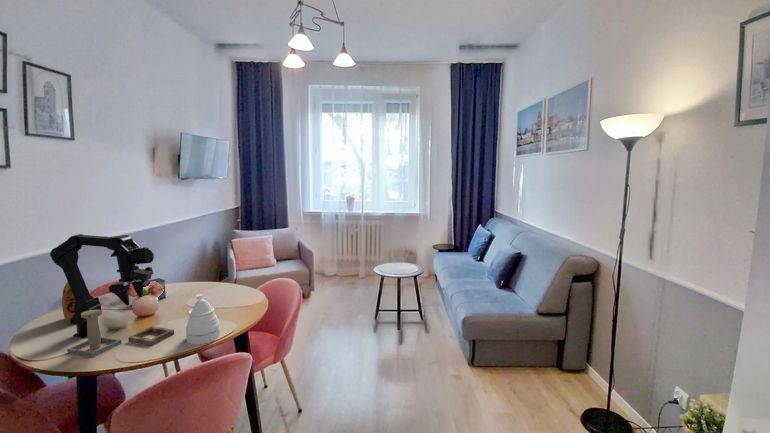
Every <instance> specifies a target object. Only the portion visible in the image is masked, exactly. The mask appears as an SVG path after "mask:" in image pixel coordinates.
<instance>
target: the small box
mask: <svg viewBox="0 0 770 433" xmlns="http://www.w3.org/2000/svg"><path fill="white" fill-rule="evenodd" d="M151 281H156V282H158V283H159V284H160V285H162V287H163V289H164V291H163V293H162V294H161V295H160V296H159V297H158V299H159V300H163V299H166V298H167V297H166V296H167V295H166V280H165V279H162V278H154V279H149V280H148V281H146V282H145V284H144V287H146V286H148V285H149V284H150V282H151ZM159 300H158V301H159Z"/></svg>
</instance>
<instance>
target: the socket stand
mask: <svg viewBox="0 0 770 433" xmlns="http://www.w3.org/2000/svg"><path fill="white" fill-rule="evenodd" d="M153 333H154V334H159V335H157V336H155V337H153V338H146V336H147V335H150V334H153ZM173 335H175V329H172V328H164V327H159V326H153V325H152V326H150V327H147V328H144V329H143V330H141V331H139V332H136V333H135V334H133V335H130V336H128V343H133V344H138V345H145V346H150V347H154V346H155V345H156V344H158V343H161V341H165V340H166V339H168V338H169V337H171V336H173Z"/></svg>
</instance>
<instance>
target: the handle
mask: <svg viewBox="0 0 770 433" xmlns="http://www.w3.org/2000/svg"><path fill="white" fill-rule="evenodd" d="M102 314H103V310H102V309H101V310H99V309H97V310H89V311H85V312H82V313H81V317H82V318H86V319H87V337H86V338H87V340H88V342H89V349H90V350H92V351H93V350H98V349H100V348H101V342H102V341H101V337H102V336H101V330H100V325H99V319H98V317H99V316H101V315H102Z"/></svg>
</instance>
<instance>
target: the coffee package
mask: <svg viewBox="0 0 770 433" xmlns="http://www.w3.org/2000/svg"><path fill="white" fill-rule="evenodd" d="M75 302H76V300H75V297H74V295H73V292H72V290H71V288H70V285H69V283H68V281H67V282H66V283H65V285H64V286H63V290H62V296H61V308H62V313H63V314H62V315H63V317H64V322H65V324H67V325H72V324H71V323H70V319H71V318H72V317H73V315H74V314H75V310H74V306H75Z"/></svg>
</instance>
